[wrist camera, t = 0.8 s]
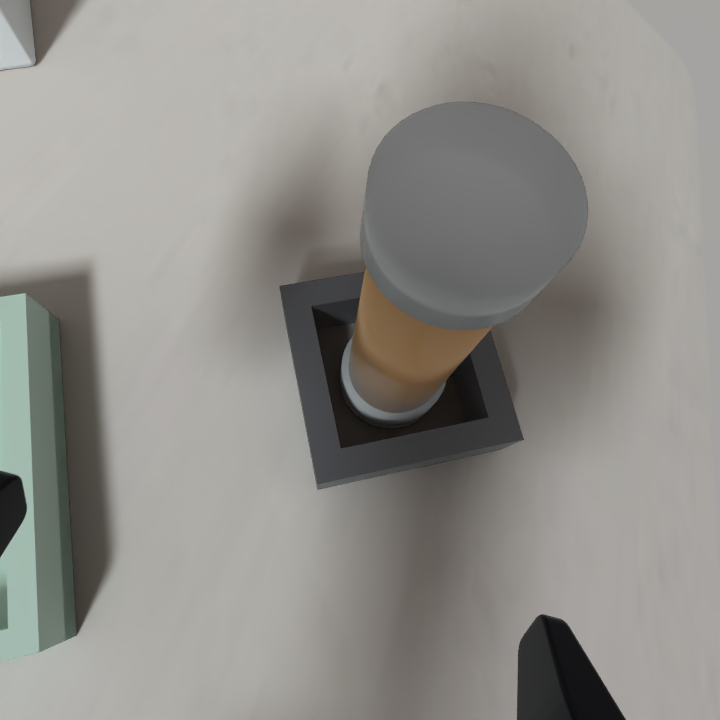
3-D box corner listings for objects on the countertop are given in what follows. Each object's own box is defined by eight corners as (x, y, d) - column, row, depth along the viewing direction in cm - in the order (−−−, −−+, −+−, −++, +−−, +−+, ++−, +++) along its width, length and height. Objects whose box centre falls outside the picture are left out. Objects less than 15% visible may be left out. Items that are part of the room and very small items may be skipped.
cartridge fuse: (448, 417, 25) (619, 273, 11) (351, 437, 24) (396, 313, 10) (424, 325, 26) (546, 90, 12) (331, 342, 26) (345, 115, 12)
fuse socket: (500, 449, 25) (523, 439, 22) (317, 489, 24) (317, 484, 21) (451, 283, 27) (466, 255, 24) (283, 312, 26) (279, 285, 23)
